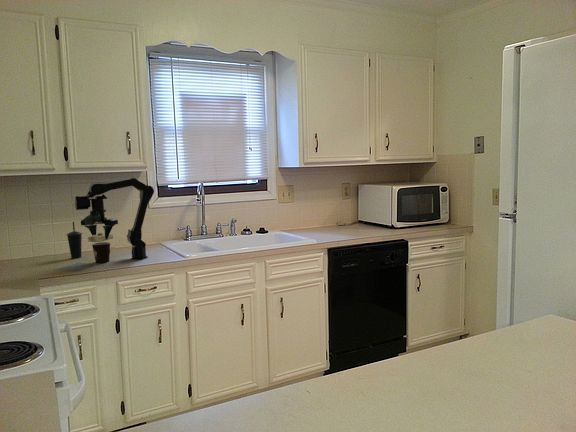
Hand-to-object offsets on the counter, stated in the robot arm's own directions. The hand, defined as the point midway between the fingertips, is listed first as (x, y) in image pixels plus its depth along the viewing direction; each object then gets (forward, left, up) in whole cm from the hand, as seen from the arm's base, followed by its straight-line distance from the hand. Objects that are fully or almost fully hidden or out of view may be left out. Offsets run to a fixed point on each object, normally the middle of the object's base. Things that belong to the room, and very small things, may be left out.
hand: (100, 238), depth 241 cm
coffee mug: (0, 0, -13) cm, 13 cm away
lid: (0, 0, -1) cm, 1 cm away
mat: (+6, +11, -13) cm, 18 cm away
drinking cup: (+24, -8, -13) cm, 28 cm away
